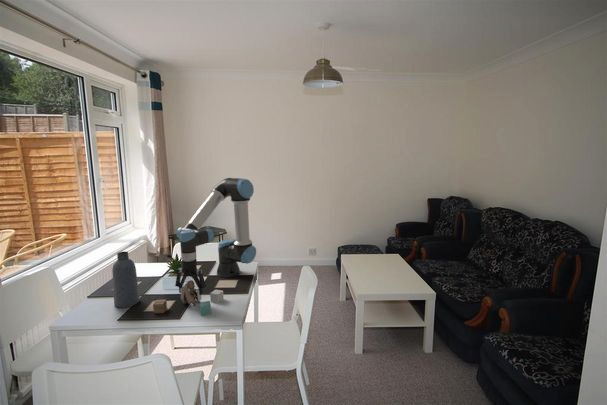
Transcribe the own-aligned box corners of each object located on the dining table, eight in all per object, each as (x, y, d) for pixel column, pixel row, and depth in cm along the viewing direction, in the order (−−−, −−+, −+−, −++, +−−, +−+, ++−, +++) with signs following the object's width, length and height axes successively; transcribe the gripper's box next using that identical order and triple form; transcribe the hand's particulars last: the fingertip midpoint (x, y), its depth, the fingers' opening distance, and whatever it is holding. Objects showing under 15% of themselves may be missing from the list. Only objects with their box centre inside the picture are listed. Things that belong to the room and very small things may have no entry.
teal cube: (200, 311, 168) (199, 302, 167) (210, 309, 170) (209, 300, 169) (200, 316, 164) (200, 306, 163) (211, 314, 165) (210, 305, 164)
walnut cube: (157, 308, 171) (156, 299, 170) (166, 308, 171) (166, 299, 171) (153, 313, 166) (153, 304, 165) (163, 313, 166) (163, 303, 166)
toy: (205, 299, 179) (198, 277, 173) (194, 310, 173) (187, 288, 166) (192, 296, 183) (185, 275, 177) (182, 307, 176) (173, 285, 170)
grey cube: (215, 297, 183) (215, 289, 183) (223, 299, 182) (223, 290, 181) (210, 301, 179) (210, 293, 178) (218, 303, 177) (218, 294, 176)
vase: (113, 310, 169) (108, 258, 165) (114, 300, 180) (110, 251, 175) (139, 305, 175) (135, 254, 170) (139, 296, 185) (135, 248, 181)
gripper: (166, 260, 171) (168, 300, 174) (205, 262, 167) (207, 304, 171) (174, 255, 178) (176, 294, 181) (211, 258, 174) (213, 297, 178)
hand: (191, 299), depth 176 cm, fingers open, 9 cm apart
